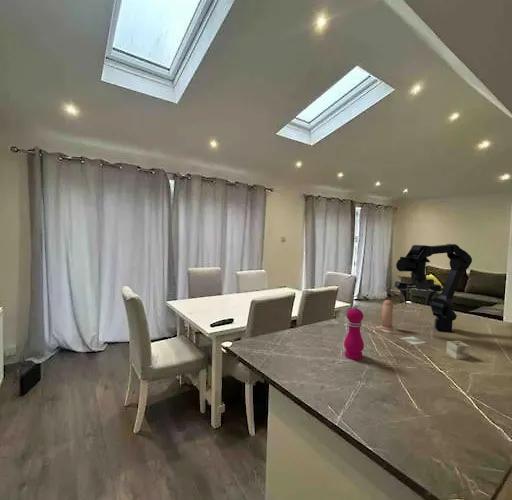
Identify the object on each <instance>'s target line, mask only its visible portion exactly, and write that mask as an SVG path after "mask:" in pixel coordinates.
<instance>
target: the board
mask: <svg viewBox="0 0 512 500" xmlns="http://www.w3.org/2000/svg"><path fill="white" fill-rule="evenodd" d="M375 328H376V329H379V330H381V331H383V332H385V333H387V334H389V335H392V336H394V337H396V338H398V339H400V340H402V341H405V342H407V343H408V344H411V347H415V345H419V344H425V343H427V342H426V341H424V340H422V339H420V338H417V337H415V336H411V335H410V334H408V333H405V332H403V331H401V330H398V329H397V328H394V329H393V330H392V331H387V330H383V329H381V328H380V325H379V326H375Z"/></svg>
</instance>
